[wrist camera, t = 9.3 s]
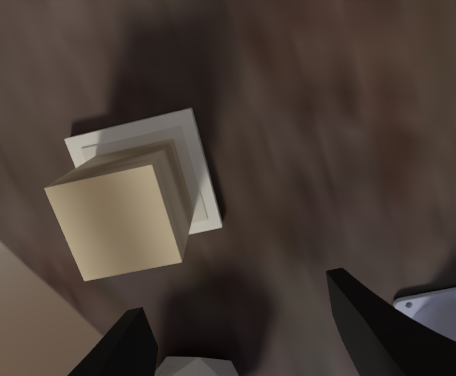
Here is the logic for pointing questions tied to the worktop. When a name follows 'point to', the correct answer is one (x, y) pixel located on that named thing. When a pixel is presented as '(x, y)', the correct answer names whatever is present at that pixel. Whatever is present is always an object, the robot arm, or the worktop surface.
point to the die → (195, 367)
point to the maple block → (124, 210)
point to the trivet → (155, 132)
